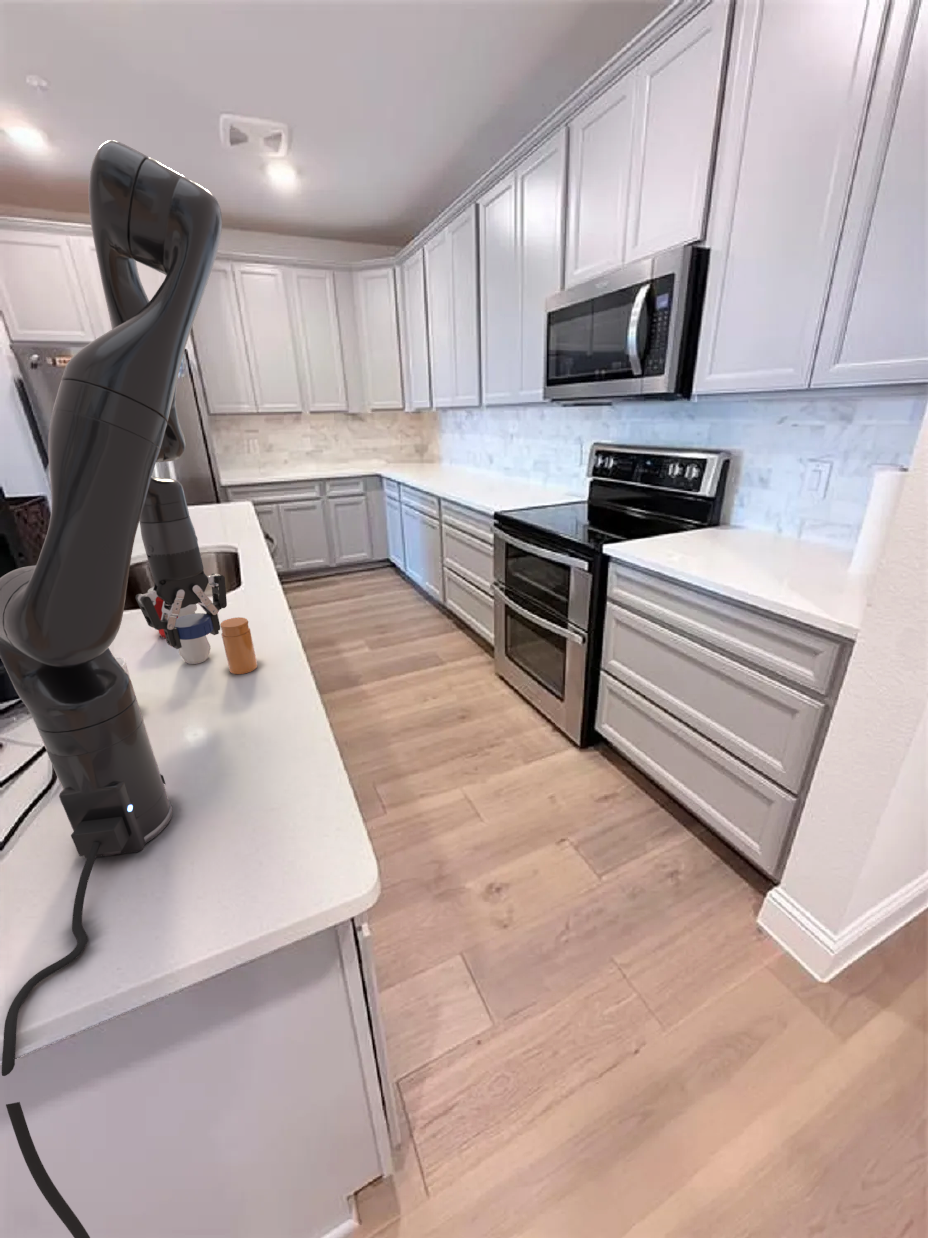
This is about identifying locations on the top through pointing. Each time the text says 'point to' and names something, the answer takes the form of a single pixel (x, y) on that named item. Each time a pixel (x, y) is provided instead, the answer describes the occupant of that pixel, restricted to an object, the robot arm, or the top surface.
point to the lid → (193, 626)
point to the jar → (238, 645)
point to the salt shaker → (193, 643)
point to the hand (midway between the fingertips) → (195, 640)
